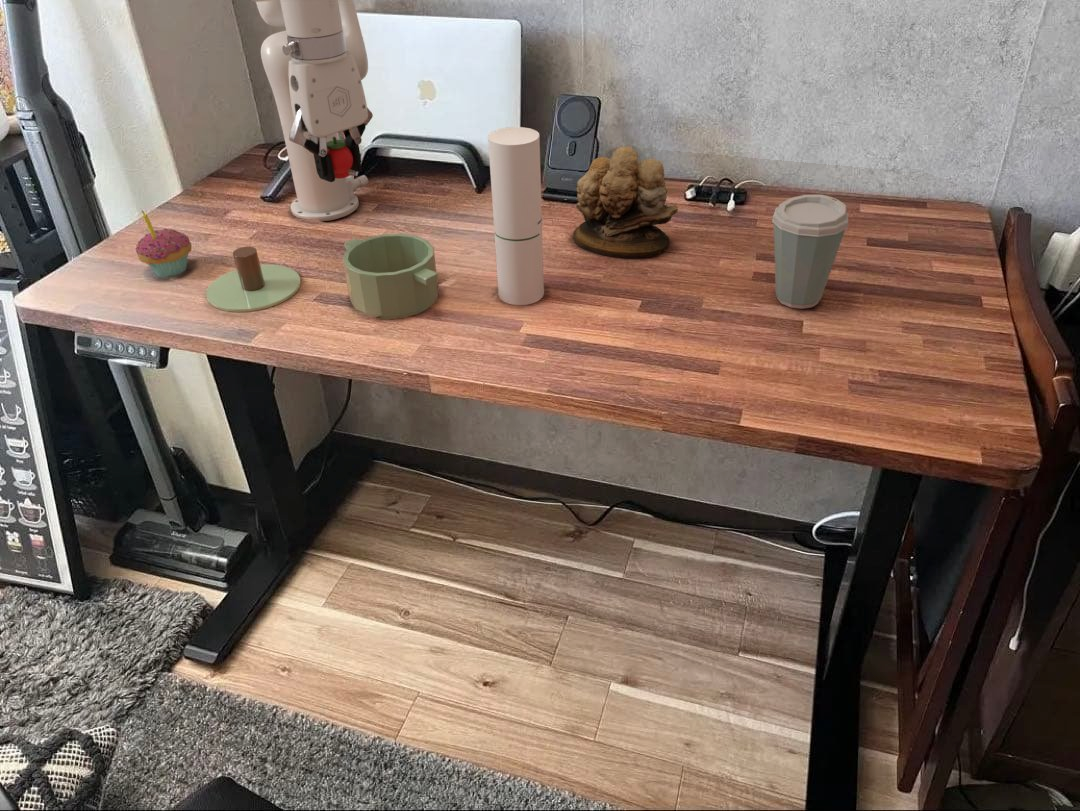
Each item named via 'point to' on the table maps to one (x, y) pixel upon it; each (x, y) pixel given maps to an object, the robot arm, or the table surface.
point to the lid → (252, 284)
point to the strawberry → (340, 157)
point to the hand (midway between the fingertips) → (340, 173)
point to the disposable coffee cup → (806, 247)
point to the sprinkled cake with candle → (164, 250)
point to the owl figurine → (623, 206)
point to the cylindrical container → (517, 213)
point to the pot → (391, 275)
